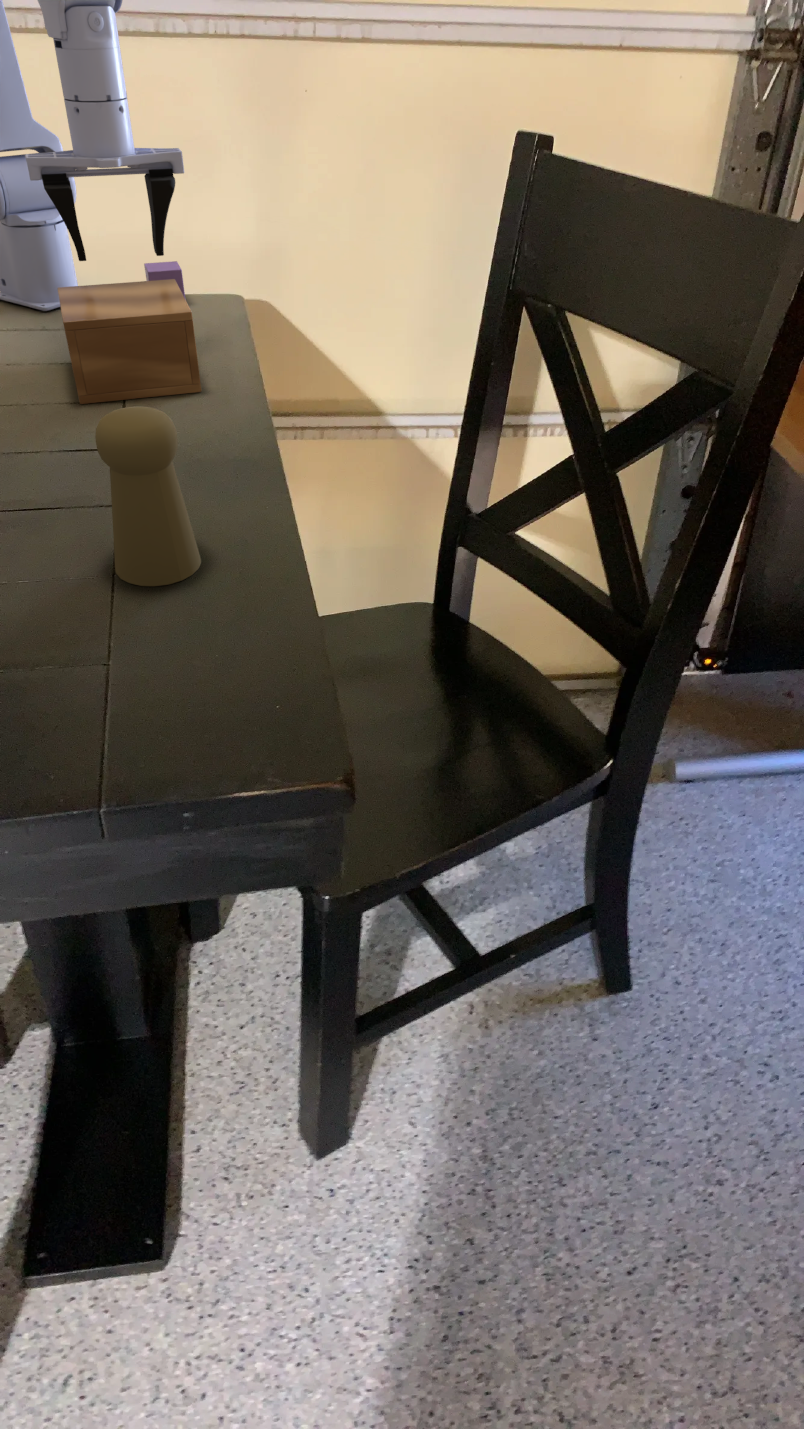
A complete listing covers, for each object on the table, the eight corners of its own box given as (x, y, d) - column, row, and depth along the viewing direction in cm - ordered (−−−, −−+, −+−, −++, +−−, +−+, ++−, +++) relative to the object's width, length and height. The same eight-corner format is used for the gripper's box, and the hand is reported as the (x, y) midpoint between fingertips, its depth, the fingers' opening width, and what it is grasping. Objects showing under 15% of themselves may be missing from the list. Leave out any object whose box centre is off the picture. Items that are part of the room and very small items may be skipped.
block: (149, 297, 118) (143, 263, 115) (181, 295, 119) (177, 260, 116) (152, 306, 115) (147, 271, 113) (186, 304, 116) (181, 269, 114)
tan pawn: (106, 553, 69) (75, 403, 62) (188, 536, 71) (167, 390, 64) (125, 593, 65) (93, 438, 58) (211, 575, 67) (191, 423, 60)
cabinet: (72, 364, 99) (57, 287, 94) (184, 353, 102) (174, 278, 97) (80, 404, 91) (63, 321, 86) (201, 391, 94) (191, 311, 89)
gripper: (14, 105, 84) (49, 271, 92) (180, 101, 87) (198, 260, 96) (13, 96, 89) (45, 253, 97) (169, 92, 93) (187, 244, 101)
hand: (121, 255), depth 97 cm, fingers open, 7 cm apart
